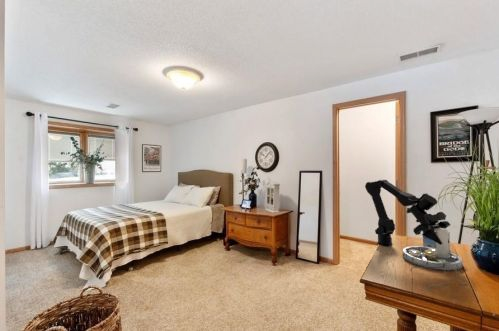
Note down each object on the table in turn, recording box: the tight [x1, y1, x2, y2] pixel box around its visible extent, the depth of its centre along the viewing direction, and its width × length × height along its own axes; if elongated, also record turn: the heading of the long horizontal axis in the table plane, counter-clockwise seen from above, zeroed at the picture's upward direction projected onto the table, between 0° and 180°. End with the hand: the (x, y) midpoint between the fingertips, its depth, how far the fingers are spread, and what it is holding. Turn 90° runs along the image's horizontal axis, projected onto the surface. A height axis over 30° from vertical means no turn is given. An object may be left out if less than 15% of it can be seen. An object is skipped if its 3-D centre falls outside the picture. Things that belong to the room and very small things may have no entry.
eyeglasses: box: [410, 265, 471, 292], centre depth 99 cm, size 16×15×5 cm
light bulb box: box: [422, 231, 451, 252], centre depth 134 cm, size 11×7×11 cm, turn 25°
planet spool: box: [435, 228, 450, 259], centre depth 113 cm, size 6×6×13 cm
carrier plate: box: [402, 245, 464, 272], centre depth 119 cm, size 24×24×4 cm
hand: (445, 243), depth 112 cm, fingers closed on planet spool, 4 cm apart
